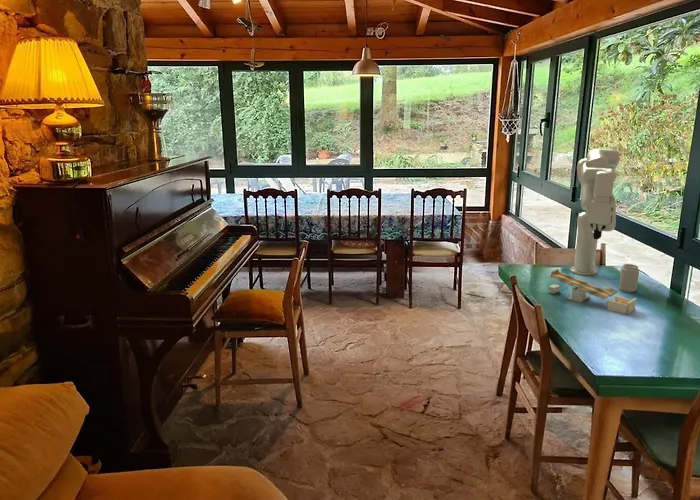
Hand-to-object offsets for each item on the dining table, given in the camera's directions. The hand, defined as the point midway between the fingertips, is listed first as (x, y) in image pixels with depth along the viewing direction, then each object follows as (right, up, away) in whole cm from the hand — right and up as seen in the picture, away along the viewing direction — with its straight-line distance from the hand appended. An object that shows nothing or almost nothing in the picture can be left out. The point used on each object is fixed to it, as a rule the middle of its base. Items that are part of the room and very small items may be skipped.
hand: (596, 238), depth 239 cm
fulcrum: (-14, -26, -1) cm, 29 cm away
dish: (+2, -30, -17) cm, 35 cm away
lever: (-8, -21, -3) cm, 22 cm away
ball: (+2, -28, -17) cm, 33 cm away
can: (+17, -24, +6) cm, 30 cm away
